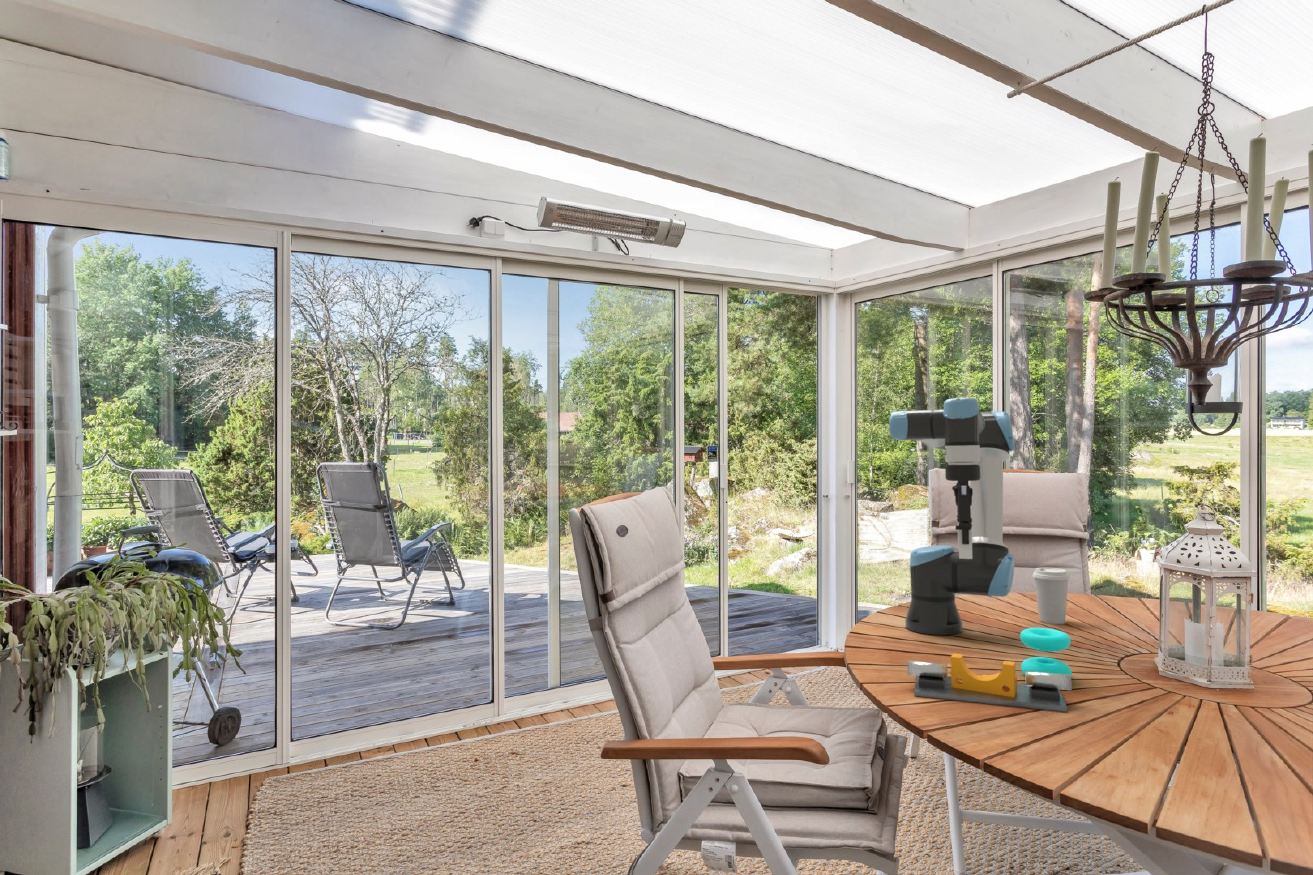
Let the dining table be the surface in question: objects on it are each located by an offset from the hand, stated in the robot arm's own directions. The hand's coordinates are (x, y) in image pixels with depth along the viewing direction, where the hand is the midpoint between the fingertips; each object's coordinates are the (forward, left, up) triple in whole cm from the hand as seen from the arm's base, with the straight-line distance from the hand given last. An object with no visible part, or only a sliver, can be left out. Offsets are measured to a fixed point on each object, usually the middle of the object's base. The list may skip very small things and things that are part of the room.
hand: (964, 554), depth 165 cm
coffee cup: (-53, +24, -27) cm, 64 cm away
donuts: (+1, +16, -27) cm, 31 cm away
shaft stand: (+17, +3, -27) cm, 32 cm away
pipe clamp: (+17, +3, -26) cm, 31 cm away
